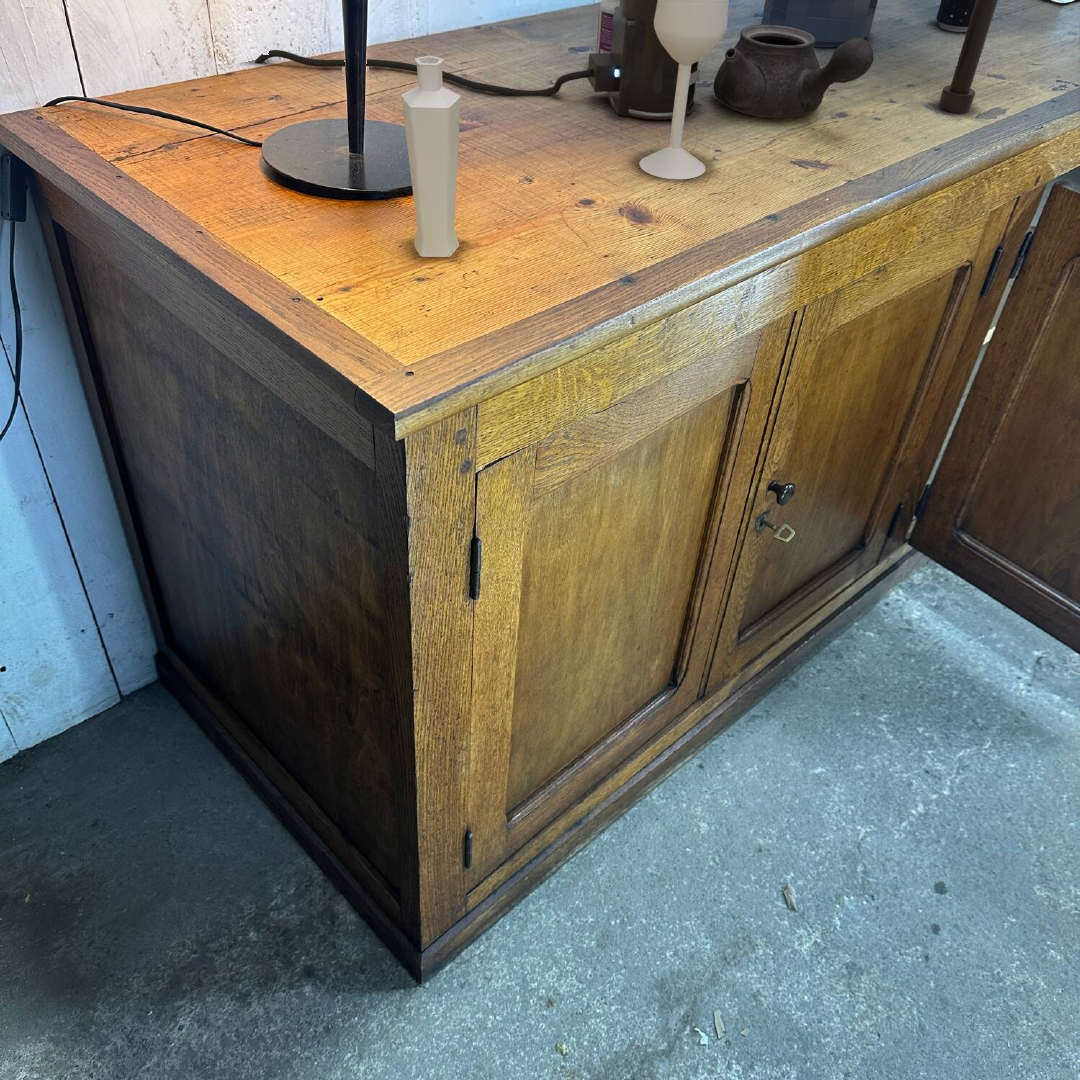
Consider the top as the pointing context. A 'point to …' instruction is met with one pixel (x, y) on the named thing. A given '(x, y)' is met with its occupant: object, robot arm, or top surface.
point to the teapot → (784, 71)
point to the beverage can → (955, 14)
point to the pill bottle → (605, 25)
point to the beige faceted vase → (433, 157)
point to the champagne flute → (684, 72)
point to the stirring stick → (968, 60)
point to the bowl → (823, 18)
